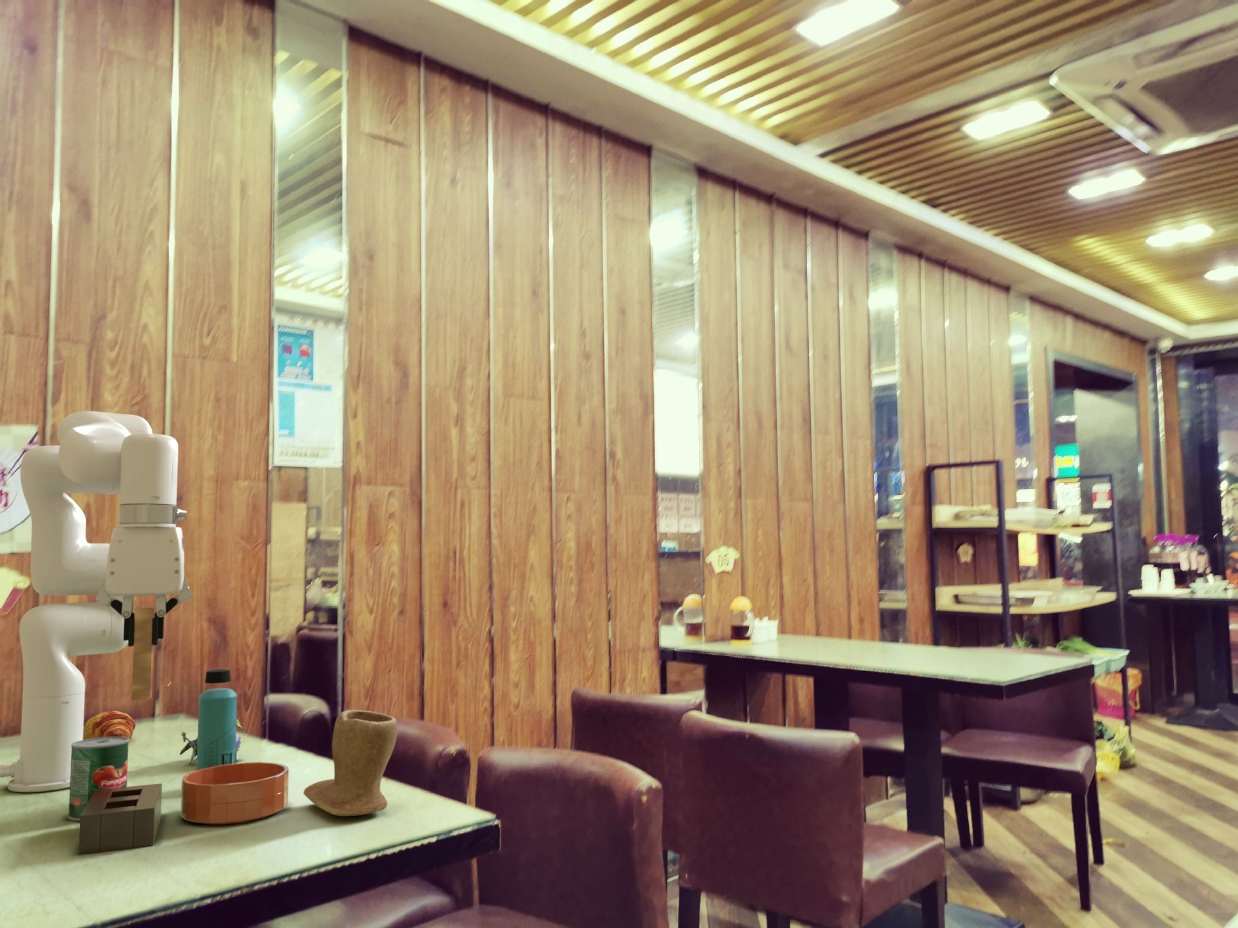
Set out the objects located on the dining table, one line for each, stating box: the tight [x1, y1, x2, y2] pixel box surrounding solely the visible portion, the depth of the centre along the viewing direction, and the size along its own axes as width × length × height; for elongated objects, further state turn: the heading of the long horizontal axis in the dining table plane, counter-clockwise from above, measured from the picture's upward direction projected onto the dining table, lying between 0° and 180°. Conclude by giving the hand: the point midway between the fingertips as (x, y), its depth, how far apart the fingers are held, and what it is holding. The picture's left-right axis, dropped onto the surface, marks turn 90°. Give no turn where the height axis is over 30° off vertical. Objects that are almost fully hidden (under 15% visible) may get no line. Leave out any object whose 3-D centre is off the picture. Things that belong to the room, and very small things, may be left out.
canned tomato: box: [67, 737, 130, 822], centre depth 144 cm, size 8×8×11 cm
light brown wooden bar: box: [131, 606, 156, 701], centre depth 134 cm, size 2×2×13 cm
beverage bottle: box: [195, 668, 238, 770], centre depth 160 cm, size 6×7×20 cm
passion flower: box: [179, 718, 245, 765], centre depth 179 cm, size 11×11×12 cm
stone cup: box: [303, 709, 399, 817], centre depth 145 cm, size 15×12×15 cm
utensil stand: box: [78, 783, 163, 855], centre depth 133 cm, size 9×16×5 cm, turn 23°
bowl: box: [180, 761, 289, 825], centre depth 143 cm, size 15×15×6 cm
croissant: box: [83, 710, 137, 740], centre depth 202 cm, size 21×10×8 cm, turn 41°
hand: (143, 643), depth 134 cm, fingers closed on light brown wooden bar, 2 cm apart
